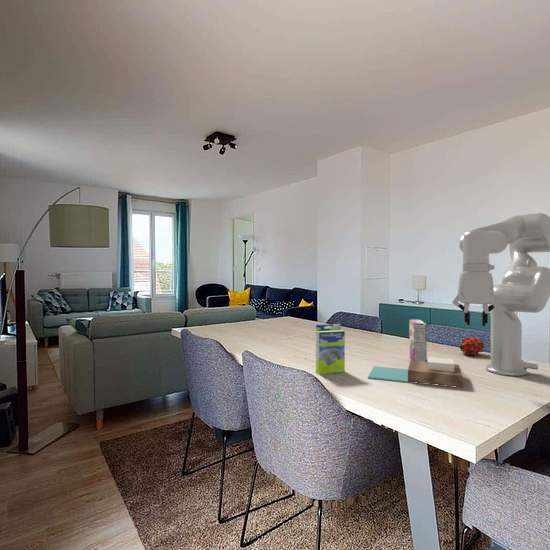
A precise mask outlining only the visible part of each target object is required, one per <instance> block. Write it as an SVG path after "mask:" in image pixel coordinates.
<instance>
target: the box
mask: <svg viewBox="0 0 550 550" xmlns="http://www.w3.org/2000/svg"><path fill="white" fill-rule="evenodd" d="M325 327H330V328H325ZM314 332H315V333H314V335H315V372H316V373H317V374H319V375H324V374H333V373H334V374H335V373H336V374H337V373H345V371H346V367H345V363H346V362H345V361H346V360H345V357H346V355H345V352H346V351H345V350H346V347H345V346H346V345H345V344H346V340H345V339H346V337H345V336H346V333H345V332H346V331H345V330H343V329H342V328H341V323H332V324H331V323H330V324H316V325H315V331H314Z"/></svg>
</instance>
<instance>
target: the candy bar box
mask: <svg viewBox="0 0 550 550" xmlns="http://www.w3.org/2000/svg"><path fill="white" fill-rule="evenodd" d="M408 324H409V325H408V326H409V359H410V360H411V361H423V362H428V356H427V350H428V349H427V323H426V322H424V321H423V320H422V319H409V323H408Z"/></svg>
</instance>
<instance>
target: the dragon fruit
mask: <svg viewBox="0 0 550 550" xmlns="http://www.w3.org/2000/svg"><path fill="white" fill-rule="evenodd" d="M484 348H485V344H484V341H482V340H481V338H480V337H477V338H475V337H474V336H473V335H472V336H471V337H467V336H466V337H465V338H464V339H462V340H461V341H460V345H459V349H460V351H461V352H462V355H464V354H465V355H466V356H470V355H473V356H475V357H476V356H477V355H479V353H483V352H485V349H484ZM465 355H464V356H465Z"/></svg>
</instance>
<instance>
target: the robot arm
mask: <svg viewBox="0 0 550 550" xmlns="http://www.w3.org/2000/svg"><path fill="white" fill-rule="evenodd" d="M458 243H459V245H458V246H459V249H460V251H461V253H462V272H461V273H459V278H458V279H459V280H458V287H457V288H458V290H457V292H458V293H457V294H456V295H455V297H454V299H453V300H452V304H453V305H454V306H456V307H458V308H460V310H462V311H463V313H464V315H463V316H464V317H463V318H464V319H463V321H464V323H466V325H467V326H471V324H470V323H471V313H470V311H469V308H470V305H471V304H473V305H474V304H475V305H476V304H477V305H482V313H481V325H482V326H483V327H486V324H488V322H489V320H488V314H489V313H490V314H489V315H490V363H489V364H486V365H485V369H486V371H488V372H491V373H493V374H497V375H503V376H512V377H516V376H517V377H519V376H520V377H521V376H526V375H527V374H528V371H527V370H528V369H530V370H539V369H538V368H539V364H537V363H532V362H525V361H524V360H523V359H522V358H523V356H522V355H523V353H522V350H523V348H522V347H523V346H522V342H523V341H522V340H523V339H522V338H523V335H522V334H523V332H522V331H523V329H522V327H523V326H522V322H521V320H520V318H519V317H518V316H519V315H517V314H516V312H518V313H519V312H520V313H532V314H534V313H540V312H542V311H543V310H544V309H545V307H546V305H547V303H548V301H549V299H550V268H549V267H547V266H546V267H545V266H538V262H537V261H536V260H535V258H534V257H533V256H532V255H530V253H531V254H532V253H550V216H549V215H548V214H546V213H543V212H539V213H529V214H521V215H514V216H511V217H509V218H507V219H505V220H503V221H500V222H497V223H493V224H490V225H486V226H483V227H478V228H475V229H472V230H468V231H465V232H464V233H463V234H462V236H461V237H460V238H459V242H458ZM507 247H509V248H508V249H509V250H508V251H509V255H510V260H511V262H510V264H509V266H508V267H507V269H506V271H505V272H504V275H503V277H502V281H501V283H500V284H496V285H494V279H493V274H492V272H491V273H490V271H492V270H495V265H494V264H490V255H493V254H500V253H502V252H503V251H505V250H506V249H507ZM461 303H462V304H461ZM463 304H464V305H463Z"/></svg>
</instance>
